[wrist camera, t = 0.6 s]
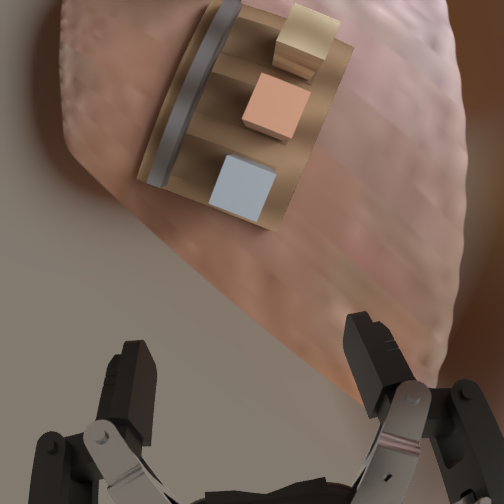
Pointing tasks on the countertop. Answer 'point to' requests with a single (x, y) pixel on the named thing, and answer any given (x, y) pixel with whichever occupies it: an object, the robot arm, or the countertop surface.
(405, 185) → the countertop surface
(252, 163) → the slate key
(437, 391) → the robot arm
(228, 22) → the wooden board with bar
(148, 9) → the countertop surface
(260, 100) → the salmon orange block
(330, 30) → the maple key
